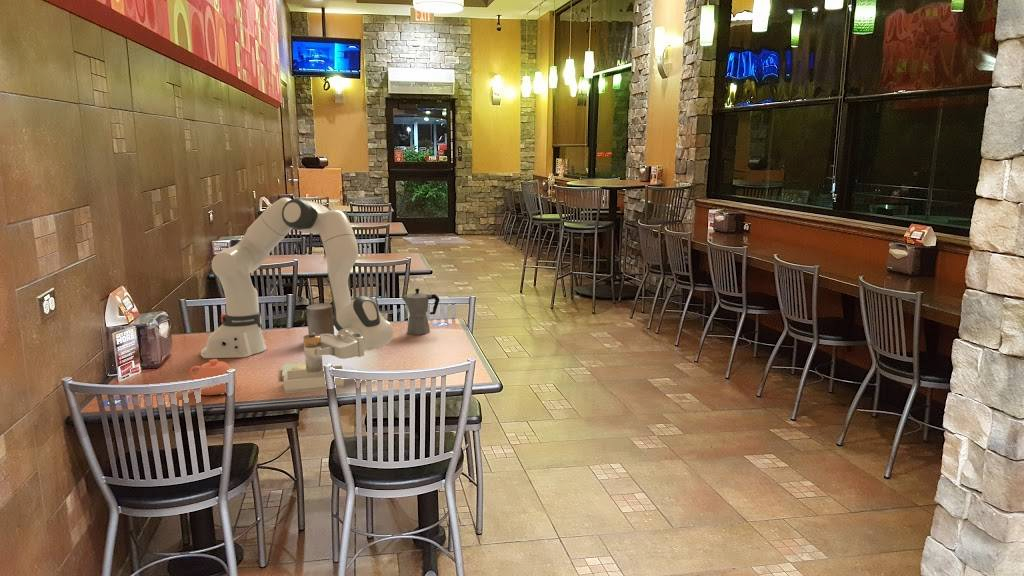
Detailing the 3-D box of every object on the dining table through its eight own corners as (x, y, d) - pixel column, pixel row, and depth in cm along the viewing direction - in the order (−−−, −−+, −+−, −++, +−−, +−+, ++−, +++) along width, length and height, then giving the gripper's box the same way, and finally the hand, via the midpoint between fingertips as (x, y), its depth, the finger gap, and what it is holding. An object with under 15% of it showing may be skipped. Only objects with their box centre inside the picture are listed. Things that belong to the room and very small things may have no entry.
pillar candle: (337, 337, 275) (335, 299, 272) (330, 343, 265) (328, 305, 262) (313, 337, 275) (310, 300, 272) (305, 344, 266) (302, 305, 263)
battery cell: (306, 373, 215) (303, 335, 213) (306, 368, 220) (303, 331, 218) (323, 371, 217) (320, 334, 214) (322, 366, 222) (320, 330, 219)
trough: (284, 393, 212) (283, 381, 211) (285, 382, 222) (285, 370, 221) (344, 388, 217) (343, 375, 216) (342, 377, 227) (341, 365, 226)
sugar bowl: (230, 398, 209) (227, 365, 207) (182, 399, 208) (178, 366, 206) (242, 384, 221) (240, 353, 219) (197, 385, 220) (194, 354, 218)
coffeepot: (400, 335, 277) (398, 290, 274) (404, 329, 287) (403, 286, 283) (438, 335, 277) (437, 291, 273) (441, 329, 286) (440, 286, 282)
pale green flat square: (282, 380, 224) (281, 375, 224) (283, 368, 236) (283, 364, 235) (320, 376, 228) (320, 372, 227) (320, 365, 239) (319, 361, 239)
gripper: (330, 326, 233) (292, 335, 223) (365, 337, 219) (327, 347, 209) (331, 345, 234) (294, 354, 224) (367, 357, 220) (328, 367, 210)
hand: (310, 350), depth 217 cm, fingers closed on battery cell, 5 cm apart
